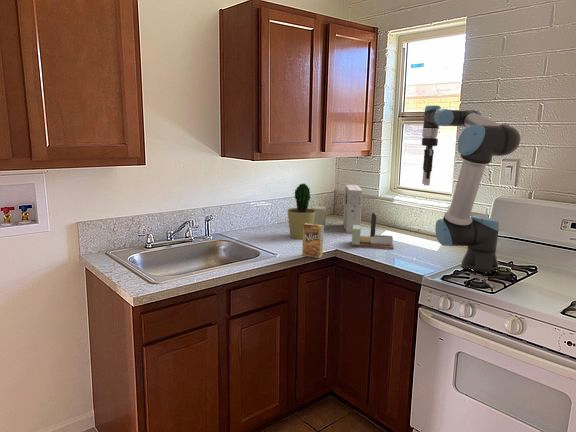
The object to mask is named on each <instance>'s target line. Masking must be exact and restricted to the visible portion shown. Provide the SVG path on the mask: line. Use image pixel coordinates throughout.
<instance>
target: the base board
mask: <svg viewBox="0 0 576 432" xmlns="http://www.w3.org/2000/svg"><path fill="white" fill-rule="evenodd" d="M351 247H352V248H353V247H354V248H368V249H369V248H370V249H382V250H394V244H393V242H392V245H378V244H370V242H360V245H356V244H352V243H351Z"/></svg>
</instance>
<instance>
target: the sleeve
mask: <svg viewBox="0 0 576 432" xmlns="http://www.w3.org/2000/svg"><path fill="white" fill-rule="evenodd" d="M393 241H394V239H393V235H385V234H381V235H380V234H375V236H371V242H370V244H378V245H392V243H393Z"/></svg>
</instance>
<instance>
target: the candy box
mask: <svg viewBox="0 0 576 432" xmlns="http://www.w3.org/2000/svg"><path fill="white" fill-rule="evenodd" d="M324 229H325V227H324V225H320V224H311V223H305V224H304V227H303V239H302V249H301V250H302V251H301V255H302V256H303V257H304V256H305V257H311V258H316V259H320V258H322V257H323V249H324V248H323V247H324V245H323V244H324Z"/></svg>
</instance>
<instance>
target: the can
mask: <svg viewBox="0 0 576 432" xmlns="http://www.w3.org/2000/svg"><path fill="white" fill-rule="evenodd" d="M310 209H314V210H316V212H315V218H314V223H313V224H320V225H324V228H326V219H327V218H326V217H327V207H326V206H322V205H313V206H311V208H310Z"/></svg>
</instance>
